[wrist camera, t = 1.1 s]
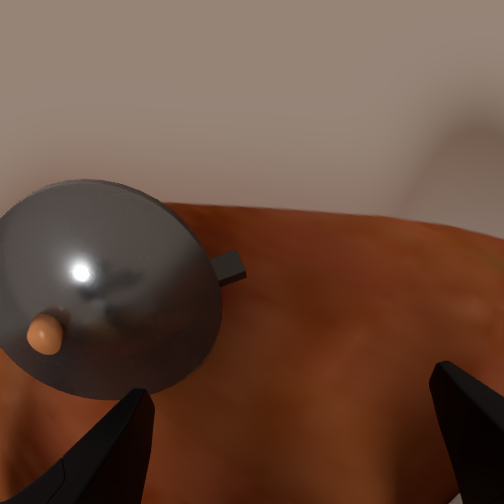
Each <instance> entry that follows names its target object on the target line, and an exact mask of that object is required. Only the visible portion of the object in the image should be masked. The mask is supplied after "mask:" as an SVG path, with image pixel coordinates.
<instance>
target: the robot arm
mask: <svg viewBox="0 0 504 504" xmlns="http://www.w3.org/2000/svg"><path fill="white" fill-rule="evenodd" d="M429 387H430V391H431V395H432V399H433V403H434V407H435V411H436V415H437V419H438V423H439V426H440V429H441V432H442V435H443V438H444V441H445V444H446V447H447V450H448V453H449V457H450V460H451V463H452V466H453V470H454V473H455V477H456V480H457V484H458V487H459V491H460V495H461V499H462V503H463V504H504V397H503V396H501V395H500V394H498V393H497V392H495V391H494V390H492V389H491V388H489V387H488V386H486V385H485V384H483V383H482V382H480V381H479V380H477V379H476V378H474V377H473V376H471V375H470V374H468V373H467V372H465V371H464V370H462V369H461V368H459V367H457V366H456V365H454V364H453V363H451V362H450V361H442V362H439V363H437V364H436V365H435V368H434V370H433V372H432V375H431V377H430V380H429ZM154 414H155V407H154V403H153V401H152V399H151V397H150V395H149V393H148V391H147V390H146V389H144V388H133V389H132V390H130V391H129V392H128V393H127V394H126V395H125V396H124V397H123V398H122V399H121V400H120V401H119V402H118V403H117V404H116V405H115V406H114V407H113V408H112V409H111V410H110V411H109V412H108V413H107V414H106V415H105V416H104V417H103V418H102V419H101V420H100V421H99V422H98V423H97V424H96V425H95V426H94V427H93V428H92V429H90V430H89V431H88V432H87V433H86V434H85V435H84V436H83V437H82V438H81V439H80V440H79V441H78V442H77V443H76V444H75V445H74V446H73V447H72V448H71V449H70V450H69V451H68V452H67V453H66V454H65V455H63V458H60V459H59V460H58V461H57V462H56V463H55V464H54V465H53V466H52V467H51V468H49V469H48V470H47V471H46V472H45V473H44V474H43V475H41V476H40V477H39V478H37V479H36V480H35V481H34V482H32V483H31V484H30V485H28V486H27V487H25V488H24V489H23V490H21V491H20V492H19V493H17V494H16V495H14V496H13V497H11V498H10V499H8V500H6V501H3V502H0V504H141V500H142V494H143V489H144V484H145V479H146V474H147V469H148V464H149V459H150V454H151V446H152V434H153V424H154Z"/></svg>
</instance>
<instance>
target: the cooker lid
mask: <svg viewBox="0 0 504 504" xmlns="http://www.w3.org/2000/svg"><path fill="white" fill-rule="evenodd" d="M221 318H222V299H221V291H220V287H219V283H218V280H217V276H216V274H215V271H214V268H213V266H212V263H211V261H210V259H209V257H208V254H207V252H206V250H205V248H204V246H203V245H202V243H201V242H200V240H199V238H198V237H197V235H196V234H195V233H194V232H193V230H192V229H191V228H190V227H189V226H188V224H187V223H186V222H185V221H184V220H183V219H182V218H180V217H179V216H178V215H177V214H176V213H175V212H174V211H173V210H171V209H170V208H169V207H167V206H166V205H164V204H163V203H161V202H160V201H159V200H157V199H155V198H153V197H151V196H149V195H147V194H145V193H144V192H142V191H140V190H136V189H134V188H131V187H128V186H125V185H123V184H119V183H114V182H109V181H104V180H92V179H80V180H67V181H62V182H58V183H55V184H50V185H47V186H45V187H43V188H40V189H38V190H36V191H34V192H32V193H30V194H29V195H27V196H26V197H24V198H23V199H21V200H20V201H19V202H17V203H16V204H15V205H14V206H13V207H12V208H11V209H10V210H9V211H8V212H7V213H6V214H5V215H4V216H3V217H2V218H1V219H0V347H1V348H2V349H3V351H4V352H5V353H6V354H7V355H8V356H9V357H10V358H11V359H12V360H13V361H14V362H15V363H16V364H17V365H18V366H19V367H21V368H22V369H23V370H24V371H26V372H27V373H28V374H30V375H31V376H33V377H34V378H36V379H37V380H39V381H41V382H43V383H44V384H46V385H48V386H51V387H53V388H55V389H57V390H60V391H63V392H65V393H68V394H71V395H75V396H80V397H84V398H90V399H97V400H121V399H122V398H123V397H124V396H125V395H126V394H127V393H128V392H129V391H130V390H132V389H133V388H144V389H146V390H147V391H148V393H149V395H151V394H154V393H157V392H160V391H162V390H164V389H166V388H169V387H171V386H173V385H174V384H176V383H178V382H179V381H181V380H183V379H184V378H185V377H186V376H188V375H189V374H190V373H192V372H193V371H194V370H195V369H196V368H197V367H198V366H199V365H200V364H201V363H202V361H203V360H204V359H205V357H206V356H207V355H208V353H209V352H210V350H211V348H212V346H213V345H214V343H215V340H216V337H217V335H218V332H219V328H220V323H221Z"/></svg>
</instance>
